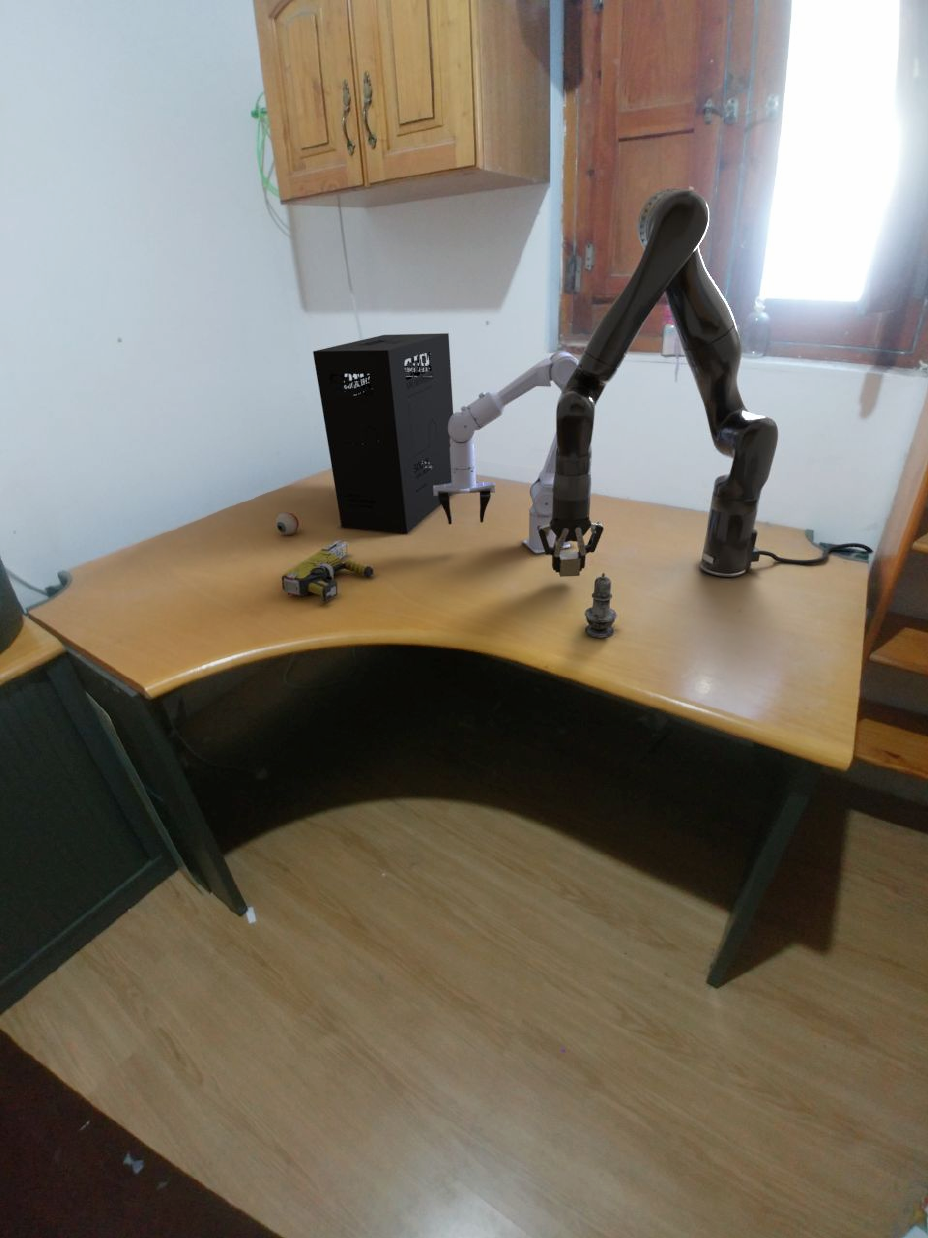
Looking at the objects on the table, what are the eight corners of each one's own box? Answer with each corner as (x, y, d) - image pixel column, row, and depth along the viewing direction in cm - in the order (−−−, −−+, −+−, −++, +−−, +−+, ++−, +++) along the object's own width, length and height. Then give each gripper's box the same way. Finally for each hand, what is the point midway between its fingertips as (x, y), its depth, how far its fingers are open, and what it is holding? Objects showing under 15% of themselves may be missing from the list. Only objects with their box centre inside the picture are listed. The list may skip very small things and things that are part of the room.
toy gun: (389, 548, 145) (334, 537, 149) (339, 588, 125) (277, 575, 129) (389, 566, 147) (335, 555, 151) (340, 608, 127) (279, 595, 131)
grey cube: (556, 568, 132) (557, 551, 130) (575, 567, 132) (576, 550, 130) (560, 576, 128) (560, 559, 126) (579, 575, 128) (580, 558, 126)
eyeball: (273, 537, 164) (268, 516, 161) (287, 528, 169) (282, 508, 166) (291, 539, 161) (286, 518, 158) (305, 530, 166) (301, 510, 163)
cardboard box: (400, 485, 198) (384, 334, 175) (457, 489, 191) (448, 333, 169) (341, 526, 168) (312, 351, 145) (407, 533, 161) (388, 350, 139)
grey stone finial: (615, 639, 110) (620, 580, 104) (583, 637, 112) (586, 579, 106) (615, 623, 115) (620, 566, 109) (584, 621, 117) (587, 565, 111)
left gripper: (431, 473, 136) (435, 529, 143) (495, 469, 136) (496, 526, 143) (432, 464, 143) (436, 519, 149) (493, 461, 142) (494, 515, 149)
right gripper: (538, 501, 118) (537, 579, 126) (611, 497, 118) (605, 576, 126) (533, 489, 124) (532, 564, 133) (602, 485, 124) (597, 561, 133)
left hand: (465, 521), depth 147 cm, fingers open, 7 cm apart
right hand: (568, 570), depth 129 cm, fingers closed on grey cube, 4 cm apart
